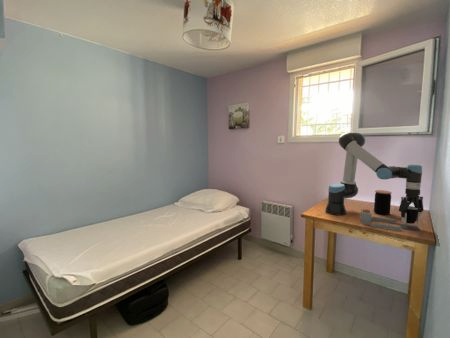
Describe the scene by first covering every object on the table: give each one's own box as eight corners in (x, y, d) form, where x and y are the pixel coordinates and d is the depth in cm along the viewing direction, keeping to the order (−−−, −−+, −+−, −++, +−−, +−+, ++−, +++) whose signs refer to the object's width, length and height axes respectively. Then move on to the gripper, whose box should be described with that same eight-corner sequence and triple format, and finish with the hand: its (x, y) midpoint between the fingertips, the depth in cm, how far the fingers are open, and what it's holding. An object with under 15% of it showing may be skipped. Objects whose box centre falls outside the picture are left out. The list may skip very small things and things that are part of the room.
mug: (399, 219, 158) (400, 204, 157) (415, 221, 153) (416, 206, 152) (401, 224, 147) (402, 209, 146) (419, 226, 143) (420, 211, 142)
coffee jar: (392, 216, 175) (394, 193, 173) (377, 215, 177) (378, 192, 175) (385, 211, 185) (387, 190, 183) (371, 211, 187) (372, 189, 185)
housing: (361, 225, 156) (362, 214, 155) (360, 218, 170) (360, 208, 169) (401, 230, 146) (402, 218, 145) (396, 223, 160) (397, 212, 159)
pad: (401, 229, 149) (401, 228, 149) (398, 224, 158) (398, 223, 158) (421, 231, 144) (421, 230, 144) (416, 226, 153) (416, 225, 153)
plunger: (362, 217, 160) (363, 210, 160) (362, 215, 164) (362, 208, 163) (369, 217, 158) (369, 211, 158) (368, 216, 162) (369, 209, 161)
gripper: (403, 190, 143) (400, 224, 145) (433, 188, 145) (430, 222, 148) (393, 187, 150) (390, 220, 153) (421, 186, 153) (418, 218, 155)
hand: (410, 221), depth 150 cm, fingers closed on mug, 9 cm apart
